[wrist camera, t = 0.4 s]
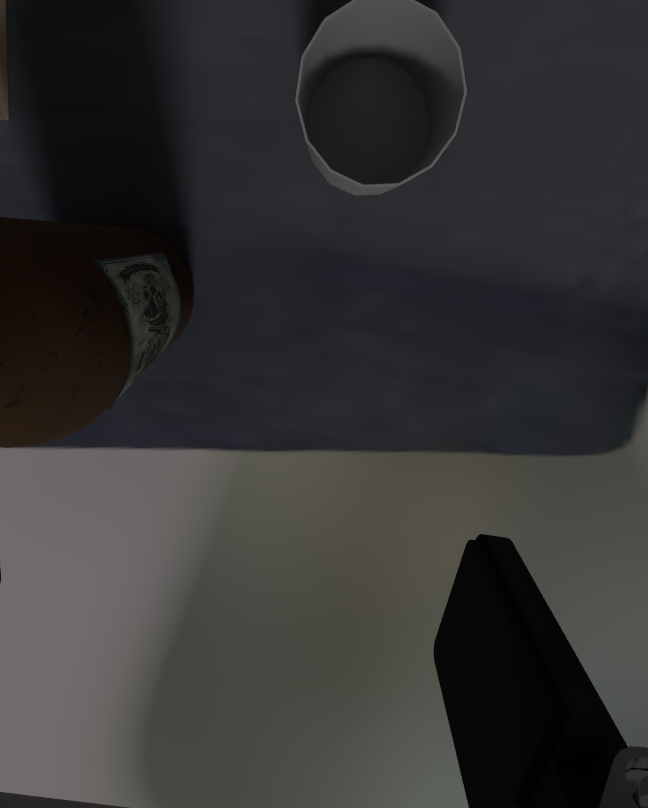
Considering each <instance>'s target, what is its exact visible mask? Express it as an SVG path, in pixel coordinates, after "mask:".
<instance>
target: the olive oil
mask: <svg viewBox="0 0 648 808" xmlns="http://www.w3.org/2000/svg"><path fill="white" fill-rule="evenodd" d="M192 308H193V287H192V282H191V279H190V276H189V273H188V271H187V268H186V266H185V265H184V263H183V261H182V260H181V258H180V257H179V255H178V254H177V253H176V252H175V251H174V249H173V248H172V247H171V246H169V245H168V244H167V243H166V242H165V241H163V240H162V239H161V238H159V237H157V236H156V235H154V234H152V233H150V232H148V231H145V230H142V229H139V228H135V227H128V226H106V225H87V224H74V223H61V222H49V221H39V220H29V219H18V218H8V217H0V447H4V448H12V447H25V446H31V445H37V444H41V443H45V442H49V441H53V440H56V439H59V438H62V437H65V436H68V435H70V434H72V433H74V432H76V431H78V430H80V429H82V428H84V427H86V426H87V425H89V424H90V423H91V422H93V421H94V420H96V419H97V418H98V417H99V416H100V415H102V414H103V413H104V412H105V411H106V410H107V409H108V408H109V407H110V409H111V408H112V407H113V406H114V404H115V403H116V401H117V400H118V398H119V397H120V396H121V395H122V394H123V392H124V391H125V390H126V389H127V388H128V387H129V386H130V385H131V384H132V383H133V382H134V381H135V380H136V379H137V377H138V376H139V375H140V374H141V373H142V372H143V371H144V370H145V369H146V368H147V367H148V366H149V365H150V364H151V363H152V362H153V361H154V360H155V359H156V358H157V357H158V356H159V355H160V354H161V353H162V352H163V351H164V350H165V349H166V348H167V347H168V346H169V345H170V344H171V343H172V342H173V341H175V340H176V339H177V338H178V336H179V335H180V334H181V333H182V332H183V330H184V329H185V327H186V325H187V323H188V321H189V319H190V316H191V312H192ZM111 405H112V406H111ZM110 409H109V410H110ZM109 413H110V412H109Z"/></svg>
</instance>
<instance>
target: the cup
mask: <svg viewBox="0 0 648 808" xmlns="http://www.w3.org/2000/svg"><path fill="white" fill-rule="evenodd" d="M466 93H467V89H466V82H465V76H464V69H463V62H462V56H461V49H460V47H459V45H458V44H457V42H456V41H455V39H454V38H453V36H452V34H451V33H450V31H449V30H448V28H447V27H446V25H445V24H444V22H443V21H442V19H441V18H440V16H439V15H438V13H437V12H436V11H434V10H432V9H430V8H428V7H426V6H424V5H422V4H421V3H419V2H417V1H415V0H352V1H351V2H349V3H348V4H346V5H344V6H343V7H341V8H340V9H338V10H337V11H335V12H334V13H332V14H331V15H329V16H327V17H326V18H325V19H324V20H323V22H322V24H321V25H320V27H319V28H318V30H317V32H316V33H315V35H314V37H313V38H312V40H311V42H310V43H309V45H308V47H307V48H306V50H305V52H304V53H303V55H302V57H301V64H300V71H299V78H298V85H297V92H296V99H295V101H296V105H297V109H298V113H299V116H300V120H301V124H302V128H303V132H304V136H305V140H306V143H307V147H308V150H309V153H310V156H311V159H312V162H313V163H314V164H315V166H316V167H317V168H318V169H319V171H320V172H321V173H322V174H323V176H324V177H325V178H326V180H327V181H328V182H329V183H330V184H331V185H333V186H336V187H338V188H340V189H342V190H344V191H346V192H348V193H351V194H353V195H371V194H382V193H384V192H386V191H389V190H391V189H393V188H395V187H398V186H400V185H401V184H403V183H405V182H407V181H408V180H410V179H412V178H414V177H416V176H417V175H419V174H421V173H423V172H424V171H426V170H428V169H430V168H431V167H433V165H434V164H435V163H436V161H437V160H438V158H439V157H440V156H441V154H442V153H443V152H444V150H445V149H446V148H447V146H448V145H449V143H450V142H451V141H452V139H453V138H454V137H455V135H456V134H457V130H458V126H459V122H460V118H461V114H462V109H463V105H464V101H465V97H466Z"/></svg>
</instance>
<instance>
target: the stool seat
mask: <svg viewBox="0 0 648 808" xmlns="http://www.w3.org/2000/svg"><path fill="white" fill-rule="evenodd" d="M0 119H3V120H8V121H9V109H8V72H7V34H6V0H0Z"/></svg>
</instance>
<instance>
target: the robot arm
mask: <svg viewBox="0 0 648 808" xmlns="http://www.w3.org/2000/svg"><path fill="white" fill-rule="evenodd" d="M0 582H1V571H0ZM434 661H435V666H436V670H437V674H438V679H439V682H440V687H441V691H442V695H443V699H444V704H445V708H446V712H447V717H448V721H449V725H450V729H451V734H452V738H453V742H454V746H455V750H456V755H457V759H458V763H459V767H460V771H461V776H462V780H463V784H464V788H465V793H466V797H467V801H468V805H469V808H648V748H645V747H632V746H630V747H628V746H627V745H626V743H625V741H624V739H623V738H622V736H621V734H620V732H619V730H618V729H617V727H616V725H615V723H614V721H613V720H612V718H611V716H610V714H609V713H608V711H607V709H606V707H605V706H604V704H603V702H602V700H601V698H600V697H599V695H598V693H597V691H596V689H595V688H594V686H593V684H592V682H591V681H590V679H589V677H588V675H587V673H586V672H585V670H584V668H583V667H582V665H581V663H580V661H579V659H578V658H577V656H576V654H575V652H574V650H573V649H572V647H571V645H570V643H569V642H568V640H567V638H566V636H565V634H564V633H563V631H562V629H561V627H560V626H559V624H558V622H557V621H556V619H555V617H554V615H553V614H552V612H551V610H550V608H549V606H548V605H547V603H546V601H545V599H544V598H543V596H542V594H541V592H540V590H539V589H538V587H537V585H536V583H535V582H534V580H533V578H532V576H531V574H530V573H529V571H528V569H527V567H526V566H525V564H524V562H523V560H522V558H521V557H520V555H519V553H518V552H517V550H516V548H515V546H514V544H513V542H512V541H511V540H510V539H508V538H504V537H498V536H491V535H484V534H480V535H479V536H478V537H477V538H476V540H469V541H468V542H467V544H466V547H465V550H464V553H463V556H462V559H461V562H460V565H459V568H458V571H457V574H456V578H455V581H454V584H453V587H452V590H451V593H450V596H449V599H448V602H447V605H446V608H445V611H444V614H443V617H442V621H441V623H440V627H439V630H438V633H437V636H436V639H435V643H434ZM0 808H128V807H119V806H111V805H103V804H95V803H87V802H78V801H69V800H62V799H54V798H44V797H36V796H28V795H21V794H13V793H5V792H0Z"/></svg>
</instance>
